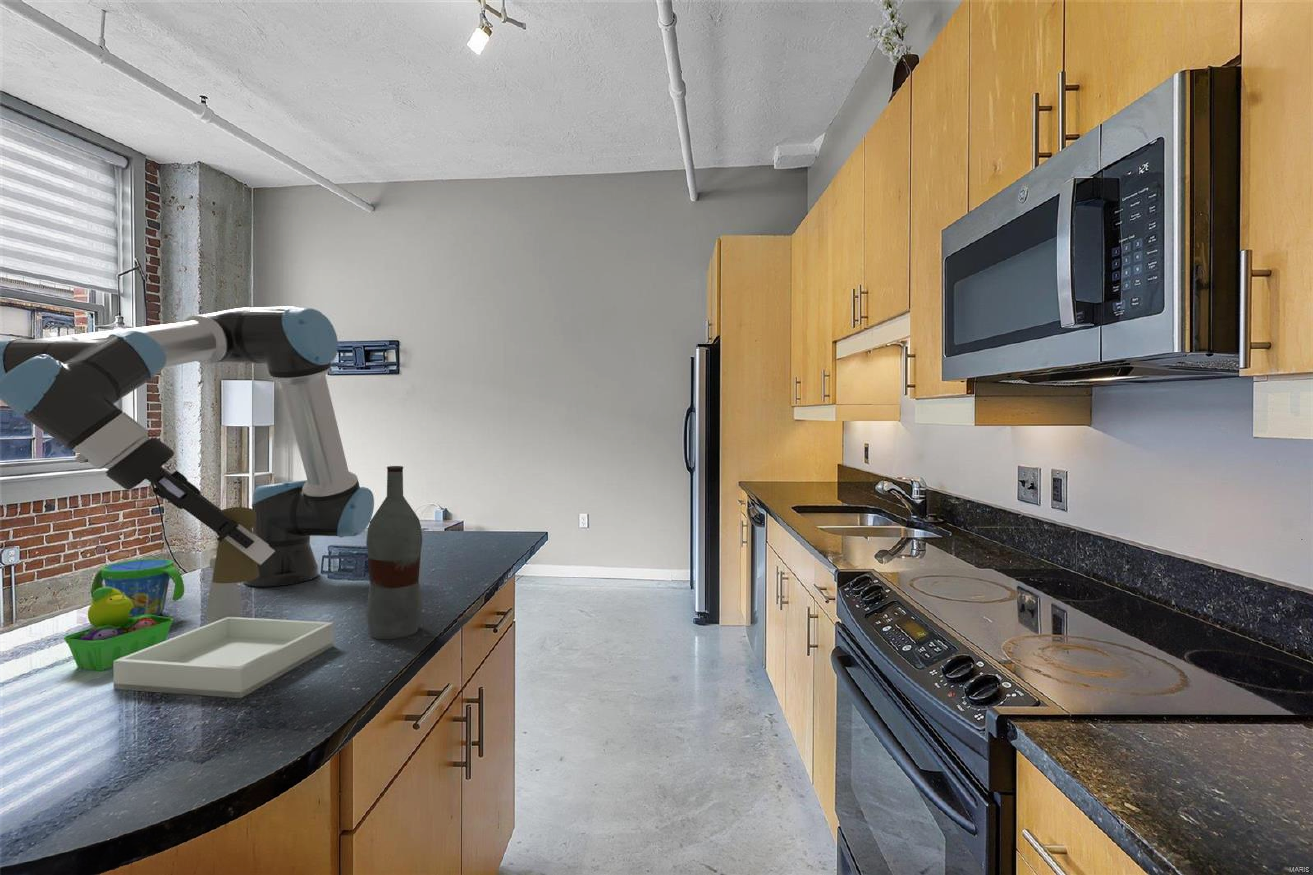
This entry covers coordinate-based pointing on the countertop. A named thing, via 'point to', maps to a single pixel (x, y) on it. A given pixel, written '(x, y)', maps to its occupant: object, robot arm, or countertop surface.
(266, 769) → the countertop surface
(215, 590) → the salt shaker
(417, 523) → the bottle
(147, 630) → the fruit basket
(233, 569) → the cork
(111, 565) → the snack cup
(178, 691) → the bin
